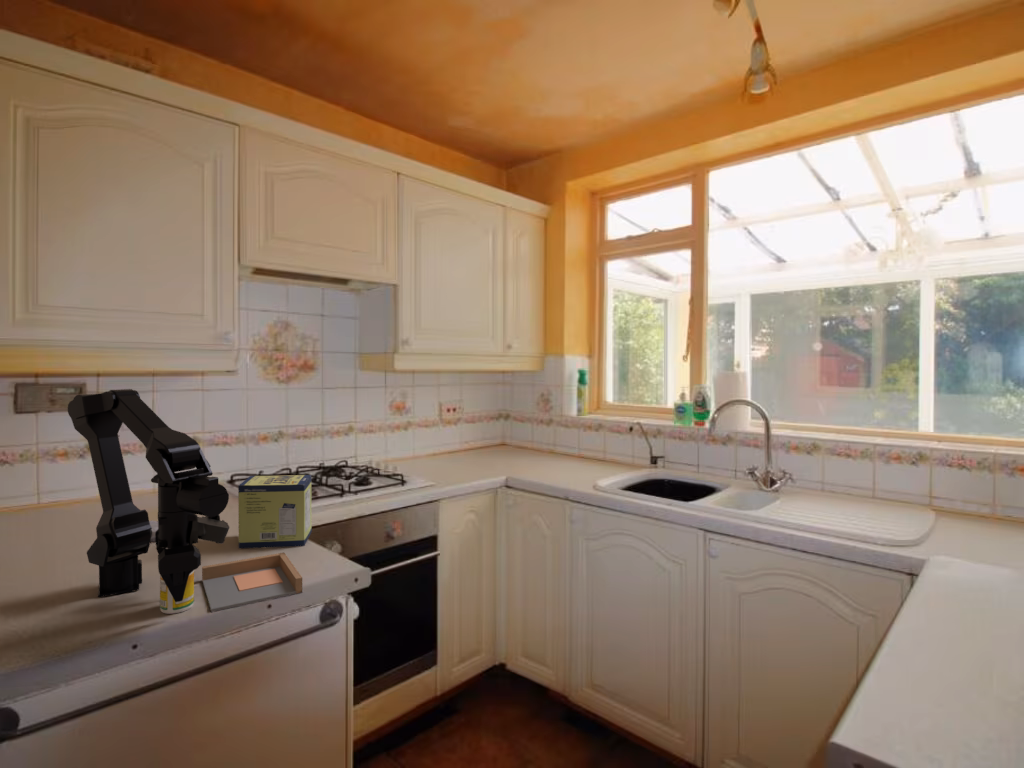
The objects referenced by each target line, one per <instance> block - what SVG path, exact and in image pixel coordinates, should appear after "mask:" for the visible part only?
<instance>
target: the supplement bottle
mask: <svg viewBox="0 0 1024 768" xmlns="http://www.w3.org/2000/svg"><path fill="white" fill-rule="evenodd" d="M194 603H195V570H193V571H192V572H191V573H190V574H189V577H188V581H187V585H186V588H185V592H184V596H183V600H182V601H179V602H175V600H174V599H173V597H172V595H171V593H170V591H169V589H168V587H167V586H166V584H165V582H164V580H163V578H162V577H161V575H160V574H159V610H160V611H161V613H163V614H166V615H167V614H168V615H169V614H179V613H182V612H185V611H188V610H190V609H191V608H192V607H193V606H194V605H195V604H194Z"/></svg>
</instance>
